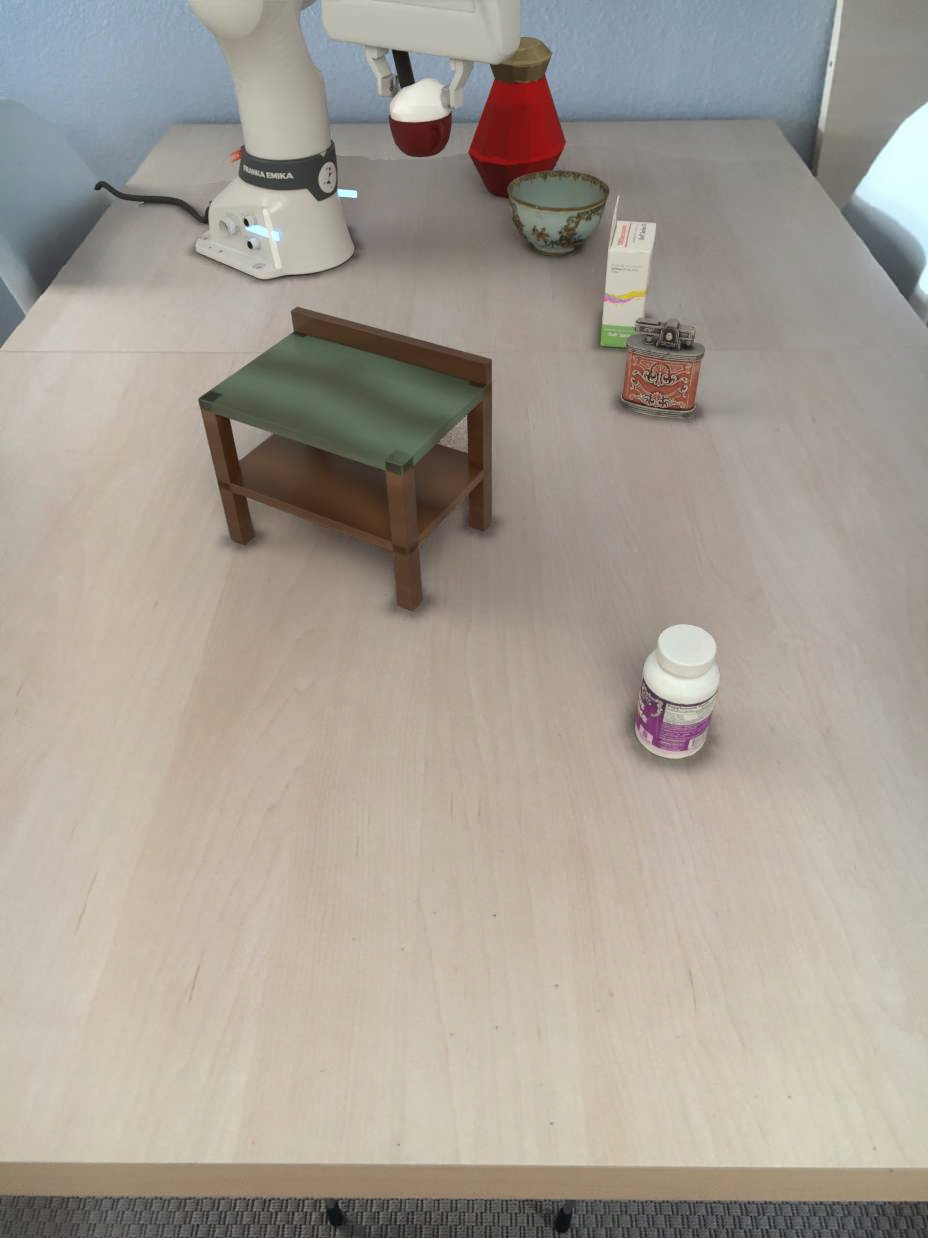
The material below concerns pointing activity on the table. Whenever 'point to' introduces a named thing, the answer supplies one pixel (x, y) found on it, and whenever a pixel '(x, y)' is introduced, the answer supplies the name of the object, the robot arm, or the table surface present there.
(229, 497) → the green top side table
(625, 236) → the white medicine box
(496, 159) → the bottle
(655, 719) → the pill bottle
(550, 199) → the bowl
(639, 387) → the lighter
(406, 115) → the cocoa
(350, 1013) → the table surface
